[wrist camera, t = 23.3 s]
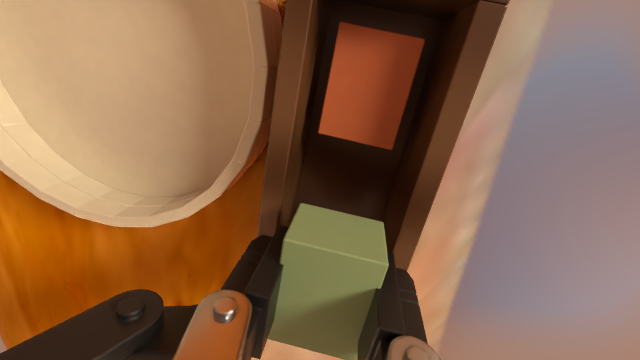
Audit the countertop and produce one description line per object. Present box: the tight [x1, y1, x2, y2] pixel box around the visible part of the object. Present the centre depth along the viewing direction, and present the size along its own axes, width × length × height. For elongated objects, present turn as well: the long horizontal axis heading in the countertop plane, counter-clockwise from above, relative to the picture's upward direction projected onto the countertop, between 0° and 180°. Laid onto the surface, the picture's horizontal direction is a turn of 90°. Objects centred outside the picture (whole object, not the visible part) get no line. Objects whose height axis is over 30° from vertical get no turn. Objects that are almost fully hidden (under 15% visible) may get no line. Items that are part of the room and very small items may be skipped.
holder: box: [257, 0, 510, 271], centre depth 13 cm, size 14×6×5 cm, turn 169°
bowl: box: [0, 0, 283, 227], centre depth 13 cm, size 16×16×3 cm
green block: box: [268, 203, 389, 360], centre depth 10 cm, size 4×3×2 cm
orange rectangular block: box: [318, 22, 425, 150], centre depth 12 cm, size 4×3×2 cm
